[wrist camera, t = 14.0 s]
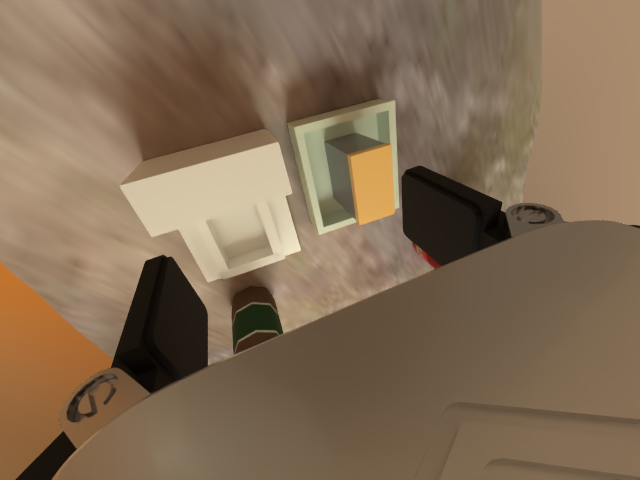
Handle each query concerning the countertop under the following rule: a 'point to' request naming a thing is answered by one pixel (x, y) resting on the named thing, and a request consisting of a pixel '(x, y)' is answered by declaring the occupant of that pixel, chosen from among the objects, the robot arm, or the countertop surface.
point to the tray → (312, 160)
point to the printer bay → (220, 202)
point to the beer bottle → (254, 318)
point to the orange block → (361, 176)
